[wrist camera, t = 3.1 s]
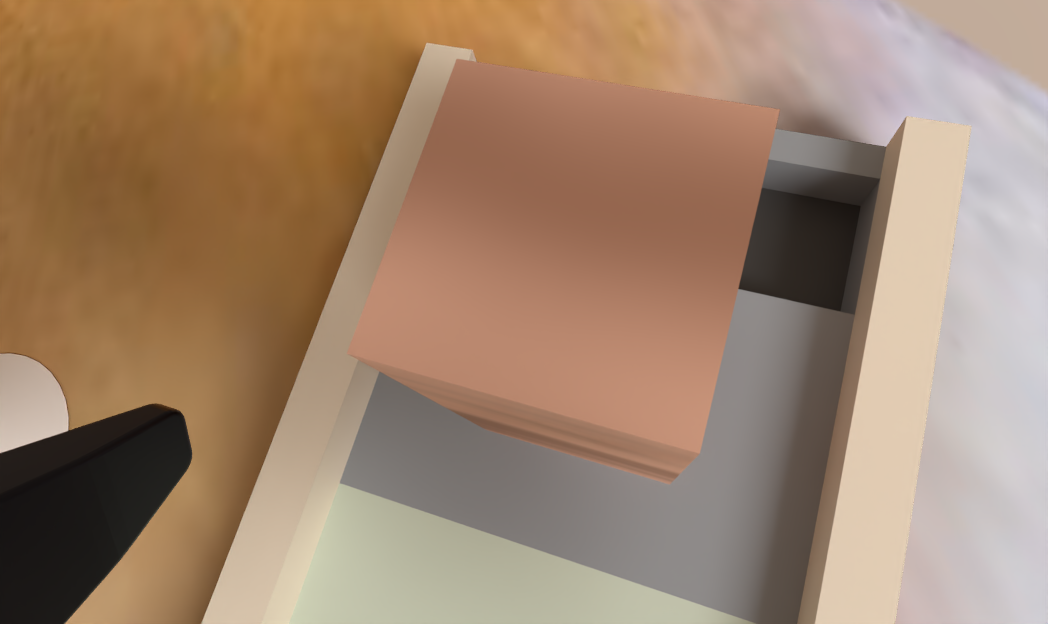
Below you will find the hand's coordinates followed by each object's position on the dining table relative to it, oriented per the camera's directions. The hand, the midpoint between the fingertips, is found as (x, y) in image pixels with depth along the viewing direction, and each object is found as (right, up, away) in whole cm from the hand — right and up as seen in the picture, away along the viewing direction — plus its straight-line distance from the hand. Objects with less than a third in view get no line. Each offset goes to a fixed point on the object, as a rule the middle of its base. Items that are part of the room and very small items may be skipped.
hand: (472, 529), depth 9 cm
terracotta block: (+3, +1, +9) cm, 10 cm away
